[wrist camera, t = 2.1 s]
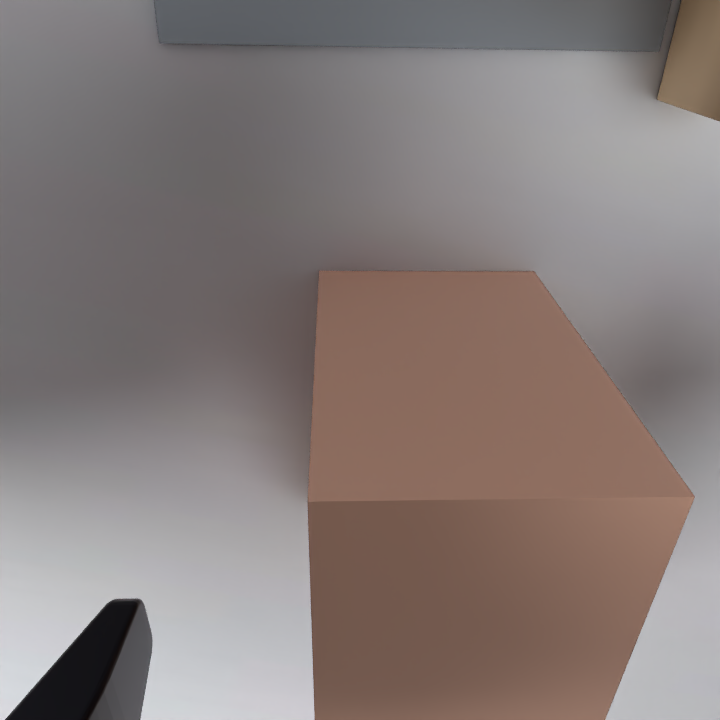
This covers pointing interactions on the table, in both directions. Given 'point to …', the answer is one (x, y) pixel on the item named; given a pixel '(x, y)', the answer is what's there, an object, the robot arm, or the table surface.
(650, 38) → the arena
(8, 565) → the table surface
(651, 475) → the terracotta block
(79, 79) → the table surface
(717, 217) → the table surface
